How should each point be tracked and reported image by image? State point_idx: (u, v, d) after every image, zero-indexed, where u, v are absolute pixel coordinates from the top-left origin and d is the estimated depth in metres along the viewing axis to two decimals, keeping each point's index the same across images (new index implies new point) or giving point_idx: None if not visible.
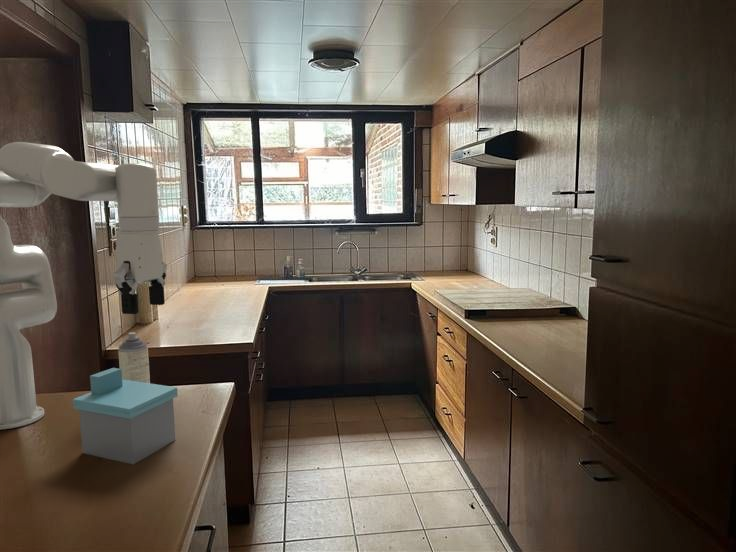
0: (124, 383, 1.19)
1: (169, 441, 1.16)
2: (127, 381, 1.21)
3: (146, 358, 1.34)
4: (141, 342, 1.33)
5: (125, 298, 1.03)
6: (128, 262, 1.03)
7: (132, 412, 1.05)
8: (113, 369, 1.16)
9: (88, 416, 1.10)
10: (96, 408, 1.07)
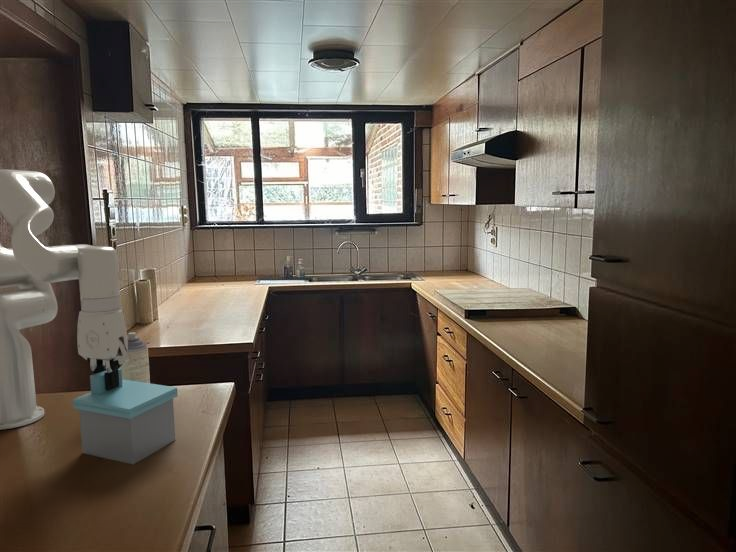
0: (124, 383, 1.20)
1: (169, 441, 1.16)
2: (127, 381, 1.21)
3: (146, 358, 1.34)
4: (141, 342, 1.33)
5: (113, 375, 1.13)
6: (120, 341, 1.12)
7: (132, 412, 1.05)
8: None
9: (88, 416, 1.10)
10: (96, 408, 1.07)
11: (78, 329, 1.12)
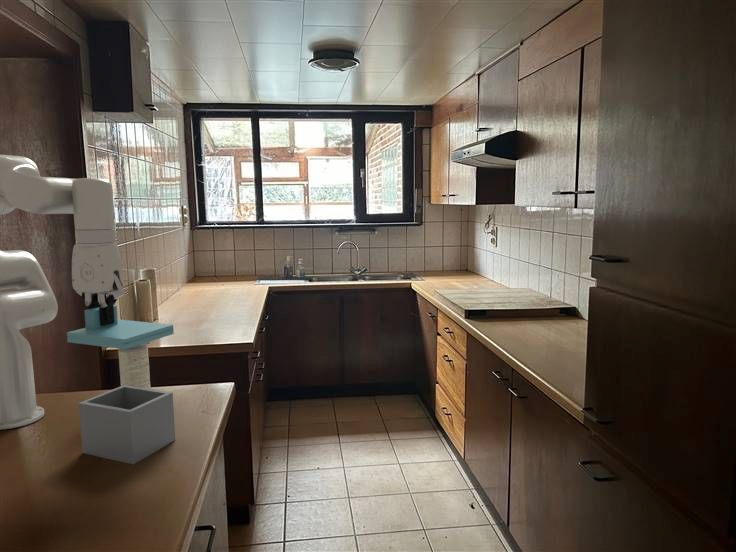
0: (119, 321, 1.18)
1: (169, 441, 1.16)
2: (122, 320, 1.19)
3: (146, 358, 1.34)
4: None
5: (108, 310, 1.11)
6: (116, 275, 1.10)
7: (127, 343, 1.03)
8: None
9: (88, 416, 1.10)
10: (90, 340, 1.06)
11: (73, 263, 1.10)
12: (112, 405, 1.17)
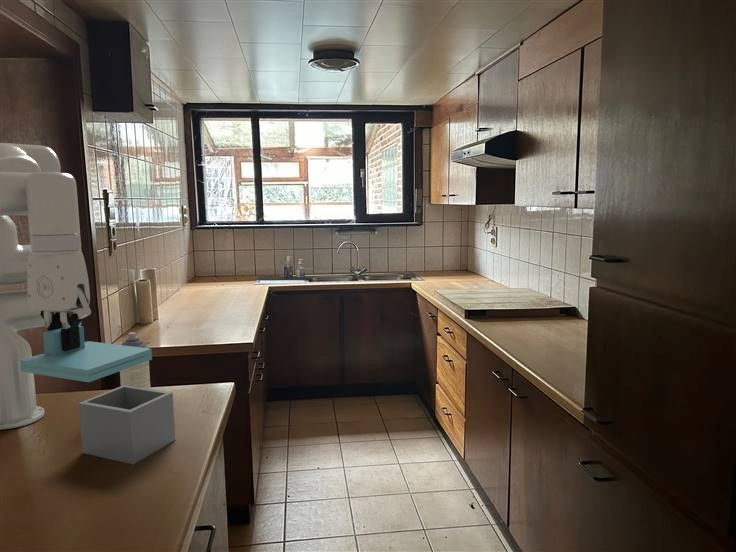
0: (88, 344, 0.98)
1: (169, 441, 1.16)
2: (92, 343, 0.99)
3: None
4: (141, 342, 1.33)
5: (72, 332, 0.92)
6: (80, 290, 0.91)
7: (92, 374, 0.84)
8: None
9: (88, 416, 1.10)
10: (48, 370, 0.86)
11: (28, 275, 0.91)
12: (112, 405, 1.17)
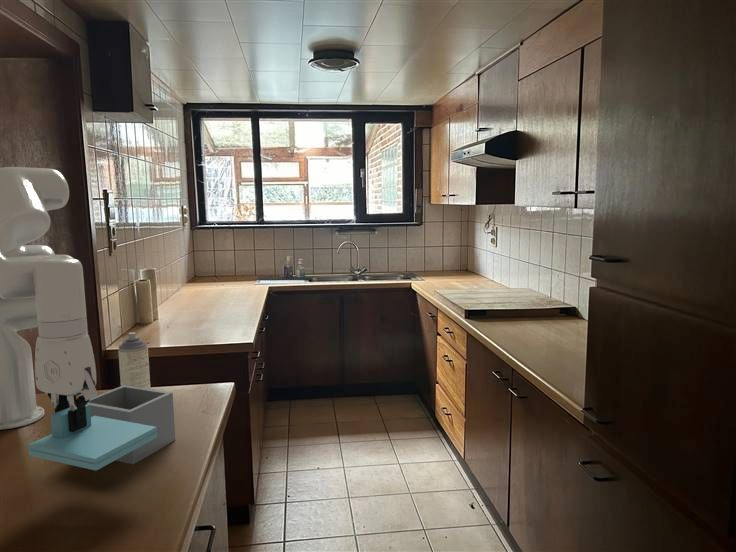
0: (94, 420, 1.00)
1: (169, 441, 1.16)
2: (98, 418, 1.01)
3: (146, 358, 1.34)
4: (141, 342, 1.33)
5: (79, 413, 0.94)
6: (87, 373, 0.93)
7: (99, 462, 0.86)
8: None
9: None
10: (56, 456, 0.88)
11: (36, 358, 0.93)
12: (112, 405, 1.17)
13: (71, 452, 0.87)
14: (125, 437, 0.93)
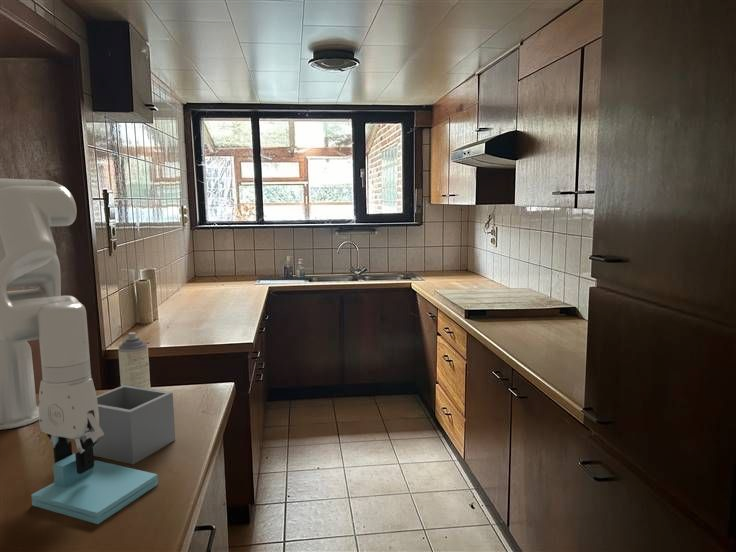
0: (96, 466, 1.02)
1: (169, 441, 1.16)
2: (100, 463, 1.03)
3: (146, 358, 1.34)
4: (141, 342, 1.33)
5: (86, 455, 0.95)
6: (91, 414, 0.94)
7: (101, 515, 0.87)
8: None
9: None
10: (58, 508, 0.90)
11: (39, 401, 0.94)
12: (112, 405, 1.17)
13: (73, 505, 0.88)
14: (126, 487, 0.94)
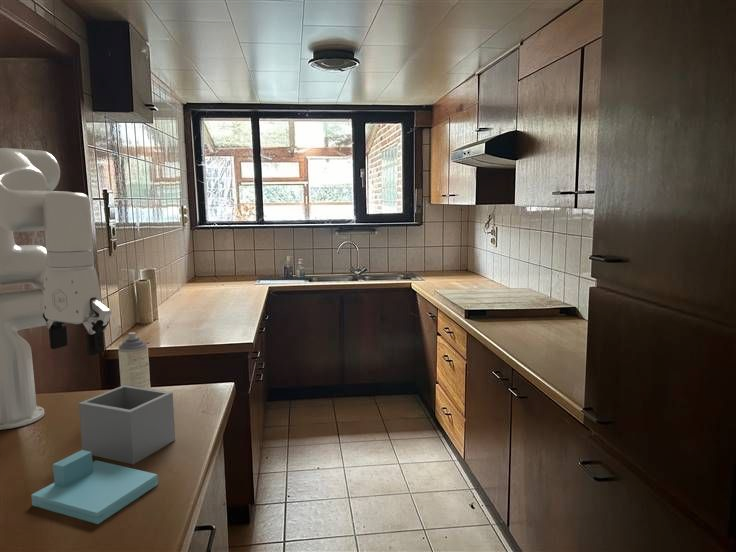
0: (96, 466, 1.02)
1: (169, 441, 1.16)
2: (100, 463, 1.03)
3: (146, 358, 1.34)
4: (141, 342, 1.33)
5: (97, 338, 0.96)
6: (94, 299, 0.96)
7: (101, 515, 0.87)
8: (81, 452, 0.99)
9: (88, 416, 1.10)
10: (58, 508, 0.90)
11: (44, 288, 0.97)
12: (112, 405, 1.17)
13: (73, 505, 0.88)
14: (126, 487, 0.94)
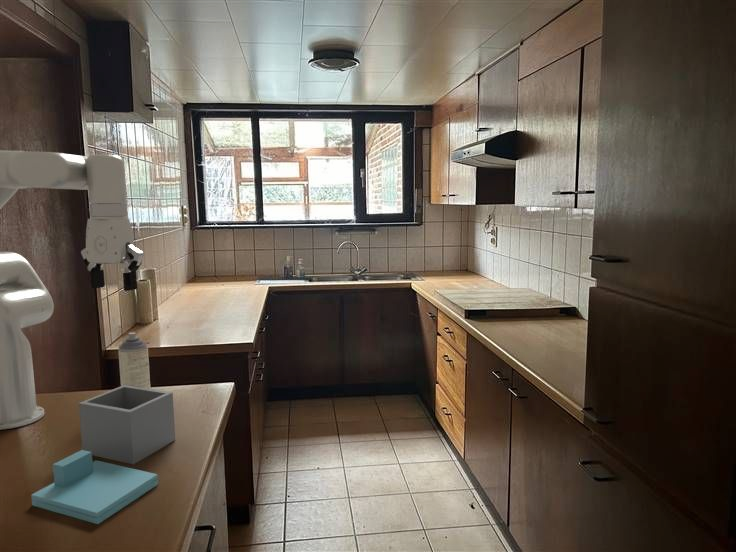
0: (96, 466, 1.02)
1: (169, 441, 1.16)
2: (100, 463, 1.03)
3: (146, 358, 1.34)
4: (141, 342, 1.33)
5: (132, 276, 1.16)
6: (129, 243, 1.16)
7: (101, 515, 0.87)
8: (81, 452, 0.99)
9: (88, 416, 1.10)
10: (58, 508, 0.90)
11: (87, 236, 1.16)
12: (112, 405, 1.17)
13: (73, 505, 0.88)
14: (126, 487, 0.94)
